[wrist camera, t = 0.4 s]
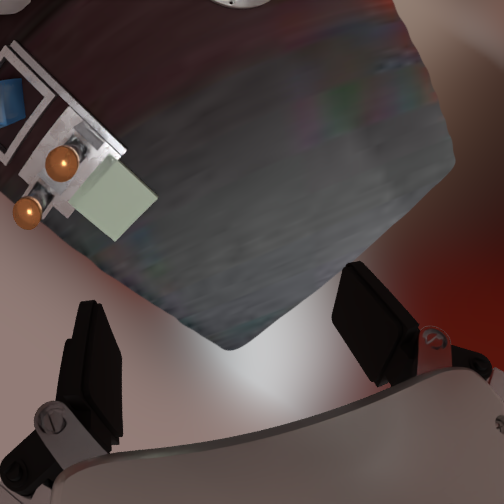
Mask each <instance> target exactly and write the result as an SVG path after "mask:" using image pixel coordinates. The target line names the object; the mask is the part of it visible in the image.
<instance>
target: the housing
mask: <svg viewBox="0 0 504 504" xmlns="http://www.w3.org/2000/svg"><path fill="white" fill-rule="evenodd" d="M6 60H8V61H9V62H10V63H11V64H12V65H13V66H14V67H15V68H16V69H17V70H18V71H19V72H20V73H21V74H22V75H23V76H24V77H25V78H26V79H27V80H28V81H29V82H30V83H31V84H32V85H33V86H34V87H35V88H36V89H37V90H38V91H39V92H40V93H41V94H42V95H43V96H44V99H43V100H42V101H41V103H40V104H39V105H38V106H37V108H36V109H35V110H34V112H33V113H32V115H31V116H30V117H29V119H28V120H27V121H26V123H25V124H24V126H23V127H22V129H21V130H20V132H19V133H18V135H17V136H16V138H15V139H14V141H13V142H12V144H11V145H10V147H9V149H8V150H7V149H6V148H5V147H4V146H3V145H2V144H1V143H0V161H1V162H2V163H3V164H5V165H8V164H9V163H10V162H11V161H12V159H13V157H14V156H15V154H16V153H17V151H18V150H19V148H20V147H21V145H22V144H23V142H24V141H25V139H26V138H27V136H28V135H29V133H30V132H31V130H32V129H33V128H34V126H35V125H36V124H37V122H38V121H39V120H40V118H41V117H42V116H43V114H44V113H45V112H46V110H47V109H48V108H49V107H50V105H51V104H52V103H53V102H54V100H55V99H56V98H57V97H58V96H59V95H60V96H61V97H62V98H63V99H64V100H65V101H66V102H67V103H68V104H69V105H70V106H68V108H67V109H66V110H65V111H64V112H63V114H62V115H61V116H60V117H59V118H58V120H57V121H56V122H55V123H54V125H53V126H52V127H51V129H50V130H49V131H48V133H47V134H46V135H45V137H44V138H43V139H42V141H41V142H40V143H39V145H38V146H37V148H36V149H35V150H34V152H33V153H32V155H31V156H30V158H29V159H28V161H27V162H26V164H25V165H24V167H23V168H22V170H21V171H20V173H19V174H18V175H19V176H21V177H22V178H23V179H24V180H25V181H26V182H27V183H28V184H29V187H28V188H27V190H26V191H25V193H24V195H23V196H22V197H24V196H29V195H30V194H31V193H32V192H33V191H34V189H35V188H36V187H37V186H38V185H40V184H41V185H43V186H44V187H45V188H46V189H47V190H48V191H49V192H50V193H51V194H53V195H52V198H51V200H50V201H49V202H48V203H47V205H46V206H45V207H44V209H43V210H42V219H44V218H45V217H46V215H47V214H48V212H49V211H50V209H51V208H52V207H53V206H54V207H55V208H56V209H57V210H58V211H59V212H61V213H62V214H63V215H64V216H65V217H67V218H69V216H70V215H71V214H72V212H73V211H74V210H75V208H74V207H73V206H72V204H70V202H69V203H68V201H69V200H71V198H72V196H73V195H74V194H75V192H76V191H77V190H78V189H79V188H80V186H81V185H82V184H83V183H84V182H85V180H86V179H87V178H88V177H89V176H90V175H91V173H92V172H93V173H94V171H95V169H96V168H97V166H98V165H99V164H100V163H101V162H102V163H104V161H103V160H104V159H105V158H106V159H107V157H106V156H107V155H108V156H109V153H110V155H111V156H113V157H114V158H116V160H118V159H119V158H120V157H121V156H122V155H123V154H124V153H125V152H126V151H127V150H128V149H127V148H126V147H125V146H124V145H123V144H122V143H121V142H120V141H119V140H118V139H117V138H116V137H115V136H114V135H113V134H112V133H111V132H110V131H109V130H108V129H107V128H106V127H105V126H104V125H103V124H102V123H101V122H99V121H98V120H97V119H96V118H95V117H94V116H93V115H92V114H91V113H90V112H89V111H88V110H87V109H86V108H85V107H84V106H83V105H82V104H81V103H80V102H79V101H78V100H77V99H76V98H75V97H74V96H73V95H72V94H71V93H70V92H69V91H68V90H67V89H66V88H65V87H64V86H63V85H62V84H61V83H60V82H59V81H58V80H56V79H55V78H54V77H53V76H52V75H51V74H50V73H49V72H48V71H47V70H46V69H45V68H44V67H43V66H42V65H41V64H40V63H39V62H38V61H37V60H36V59H35V58H34V57H33V56H32V55H31V54H30V53H29V52H28V51H27V50H26V49H25V48H24V47H23V46H22V45H21V44H20V43H19V42H18V41H17V40H14V41H13V42H12V43H11V45H10V46H8V45H5V46H4V48H3V49H2V50H1V52H0V68H1V67H2V65H3V64H4V62H5V61H6ZM75 139H79V140H80V141H81V142H82V143H83V144H84V145H85V146H86V147H87V152H86V154H85V156H84V157H83V158H82V159H81V160H80V162H79V168H78V170H77V172H76V173H75V175H74V176H73V177H72V178H71V179H70V180H68V181H66V182H57V181H54V180H52V179H51V178H50V177H49V175H48V174H47V172H46V169H45V161H46V158H47V156H48V154H49V153H50V152H51V151H52V150H53V149H54V148H56V147H58V146H60V145H67V144H69V143H70V142H71V141H73V140H75ZM109 158H111V157H109ZM114 158H113V159H114ZM113 159H112V160H113ZM110 160H111V159H109V160H107V161H106V160H105V163H107V162H108V163H109V161H110ZM112 162H113V161H112ZM115 162H116V161H115ZM102 163H101V164H102ZM105 163H104V165H105ZM109 164H110V163H109ZM102 166H103V165H102ZM106 166H108V164H107V165H105V167H106ZM109 166H110V165H109ZM109 166H108V167H109ZM99 167H100V165H99ZM103 167H104V166H103ZM103 167H100V168H103ZM105 167H104V168H105ZM104 168H103V169H104ZM110 168H111V166H110ZM106 169H107V168H106ZM97 170H98V169H97ZM99 170H101V169H99ZM95 172H96V171H95ZM101 172H103V171H101ZM104 172H105V171H104ZM106 172H107V171H106ZM93 173H92V174H93ZM97 173H98V171H97ZM97 173H96V174H97ZM99 173H100V172H99ZM104 174H105V173H104ZM94 175H95V173H94ZM97 175H99V174H97ZM100 175H101V173H100ZM91 176H93V175H91ZM99 177H101V176H99ZM94 179H95V178H94ZM97 179H98V178H97ZM97 179H96V180H97ZM88 180H89V179H88ZM90 181H91V180H90ZM92 182H93V181H92ZM96 182H97V181H96ZM88 183H89V182H88ZM85 184H86V183H85ZM91 185H92V184H91ZM94 185H95V183H94ZM88 186H89V185H88ZM88 189H89V188H88ZM80 190H81V189H80ZM81 191H82V190H81ZM83 191H84V189H83ZM77 192H78V191H77ZM82 193H83V192H82ZM76 194H77V195H78V194H81V192H80V193H79V192H78V193H76ZM75 196H76V195H75ZM79 196H80V195H79ZM82 196H83V195H82ZM78 198H79V197H78ZM73 199H74V198H73ZM79 199H80V198H79ZM75 200H76V199H75ZM77 200H78V199H77ZM81 201H82V200H81ZM73 202H74V201H73ZM73 202H71V203H73ZM75 203H76V202H75ZM75 207H76V206H75Z"/></svg>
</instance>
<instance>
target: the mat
mask: <svg viewBox="0 0 504 504" xmlns="http://www.w3.org/2000/svg"><path fill="white" fill-rule="evenodd" d="M106 157H107V159H106V158H105V159H104V160H103V161H104V163H105V160H106V161H107V160H109V159H111V160H110V161H109V163H110V164H109V163H108V162H107V163H105V165H107V164H108V166H109V165H110V166H111V168H110V166H109V167H108V166H106V167H105V165H104V163H102V162H101V163H102V164H101V163H100V164H99V165H100V167H103V166H104V167H105V168H104V167H103V168H104V169H103V168H100V167H99V165H98V166H97V168H96V169H95V171H96V172H95V171H94V173H95V175H94V173H93V172H92V173H93V174H92V173H91V175H93V176H91V175H90V176H89V177H88V178H87V179H86V180H85V182H84V183H83V184H82V185H81V186H80V188H79V189H78V190H77V191H78V192H79V193H80V192H81V194H78V195H77V194H76V193H78V192H77V191H76V192H75V194H74V195H73V196H72V198H71V200H69V201H68V203H69V202H70V204H72V206H73V207H74V208H75V209H76V210H78V211H79V212H80V213H81V214H82V215H83V216H85V217H86V218H87V219H88V220H89V221H91V222H92V223H93V224H94V225H95V226H97V227H98V228H99V229H100V230H101V231H103V232H104V233H105V234H106V235H108V236H109V237H110V238H111V239H113V240H114V241H116V240H117V239H118V238H119V237H120V236H121V235H122V234H123V233H124V232H125V231H126V230H127V229H128V228H129V227H130V226H131V225H132V224H133V223H134V222H135V221H136V220H137V219H138V218H139V217H140V216H141V215H142V214H143V213H144V212H145V211H146V210H147V209H148V208H149V207H150V206H151V205H152V204H153V203H154V202H155V201H156V200H157V199H158V195H156V194H155V193H154V192H153V191H152V190H151V189H150V188H149V187H148V186H147V185H146V184H145V183H144V182H142V181H141V180H140V179H139V178H138V177H137V176H136V175H135V174H134V173H133V172H132V171H131V170H130V169H129V168H127V167H126V166H125V165H124V164H123V163H122V162H121V161H120V160H119V159H118V160H116V158H114V157H113V156H111V155H110V153H109V156H108V155H107V156H106ZM109 157H111V158H109ZM113 158H114V159H113ZM112 159H113V160H112ZM112 161H113V162H112ZM115 161H116V162H115ZM102 165H103V166H102ZM106 168H107V169H106ZM97 169H98V170H97ZM99 169H101V170H99ZM97 171H98V173H97ZM101 171H103V172H101ZM104 171H105V172H104ZM106 171H107V172H106ZM99 172H100V173H101V175H100V173H99ZM96 173H97V174H99V175H97V174H96ZM104 173H105V174H104ZM99 176H101V177H99ZM94 178H95V179H94ZM97 178H98V179H97ZM88 179H89V180H88ZM96 179H97V180H96ZM90 180H91V181H90ZM92 181H93V182H92ZM96 181H97V182H96ZM88 182H89V183H88ZM85 183H86V184H85ZM94 183H95V185H94ZM91 184H92V185H91ZM88 185H89V186H88ZM88 188H89V189H88ZM80 189H81V190H82V191H81V190H80ZM83 189H84V191H83ZM82 192H83V193H82ZM75 195H76V196H75ZM79 195H80V196H79ZM82 195H83V196H82ZM78 197H79V198H80V199H79V198H78ZM73 198H74V199H73ZM75 199H76V200H75ZM77 199H78V200H77ZM81 200H82V201H81ZM73 201H74V202H73ZM71 202H73V203H71ZM75 202H76V203H75ZM75 206H76V207H75Z"/></svg>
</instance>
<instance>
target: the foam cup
mask: <svg viewBox="0 0 504 504" xmlns="http://www.w3.org/2000/svg"><path fill="white" fill-rule="evenodd" d="M30 1H31V0H0V14H15V13H17V12H19V11H21V10H22V9H24V8H25V7H26V6H27V5H28V4H29V3H30Z"/></svg>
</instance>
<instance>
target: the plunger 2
mask: <svg viewBox="0 0 504 504" xmlns="http://www.w3.org/2000/svg"><path fill="white" fill-rule="evenodd" d="M86 152H87V147H86V146H85V145H84V144H83V143H82V142H81V141H80V140H79V139H75V140H73V141H71V142H70V143H69V144H67V145H60V146H58V147H56V148H54V149H53V150H52V151H51V152H50V153H49V154H48V156H47V158H46V161H45V169H46V172H47V174H48V175H49V177H50V178H51V179H52V180H54V181H57V182H66V181H68V180H70V179H71V178H72V177H73V176H74V175H75V173H76V172H77V170H78V168H79V162H80V160H81V159H82V158H83V157H84V156H85V154H86Z"/></svg>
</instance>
